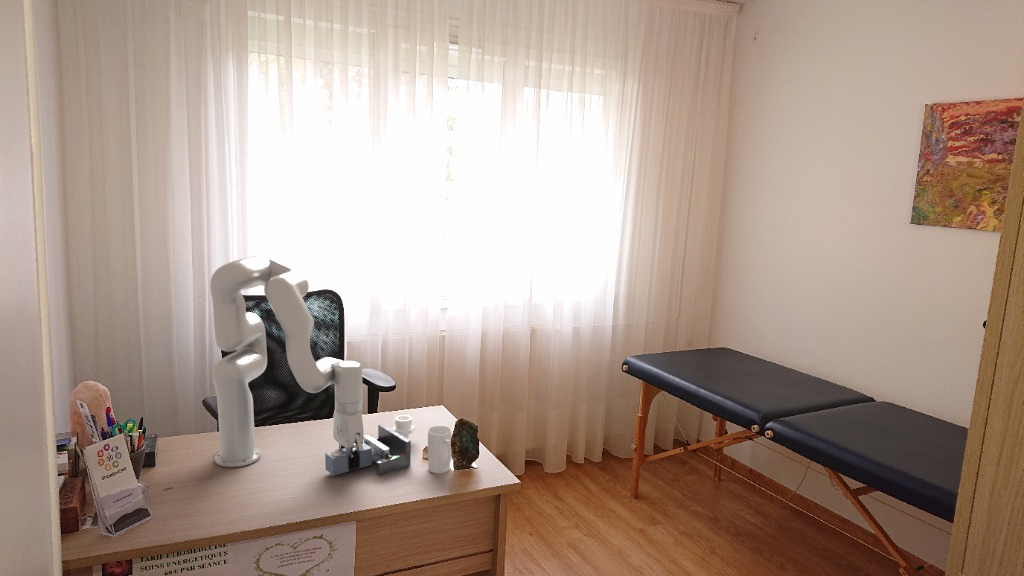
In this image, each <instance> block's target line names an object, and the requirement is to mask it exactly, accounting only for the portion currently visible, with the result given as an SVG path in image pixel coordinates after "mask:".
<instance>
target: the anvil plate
mask: <svg viewBox="0 0 1024 576" xmlns="http://www.w3.org/2000/svg"><path fill="white" fill-rule="evenodd" d="M374 438H375V437H373V436H370V435H369V434H367V435H364V438H363V441H364V443H365V444H367V445H368V446H369V447H371V448H375V451H376V455H375V456H372V463H375V464H376V465H377V462H378V461H381V460H384V459H387V458H389V459H393V456H391V455H390V454H389V448H388V447H386V446H385V445H383V444H382V443H380V442H379V441H377V440H375V439H374Z"/></svg>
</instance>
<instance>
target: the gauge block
mask: <svg viewBox="0 0 1024 576" xmlns="http://www.w3.org/2000/svg"><path fill="white" fill-rule="evenodd" d="M362 446H363V449H364V450H363V451H362V452H361V453H360V454H361V455H360V467H359V468H360V469H361V468H364V467H367V466H370V465H373V461H372V456H375V455H376V451H375V448H371V447H369V446H368V445H367V444H365V443H364V442H363V444H362ZM352 449H353V451H354V450H356V448H352ZM324 455H325V456H324V459H325V460H324V461H325V471H326V472H328V473H329V474H331V475H332V476H337V475H340V474H343V473H347V472H350V470H349V457H350V453H349V449H347V448H342V449H339V448H338V449H335V450H331V451H328V452H325V453H324ZM359 468H358V469H359Z"/></svg>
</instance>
